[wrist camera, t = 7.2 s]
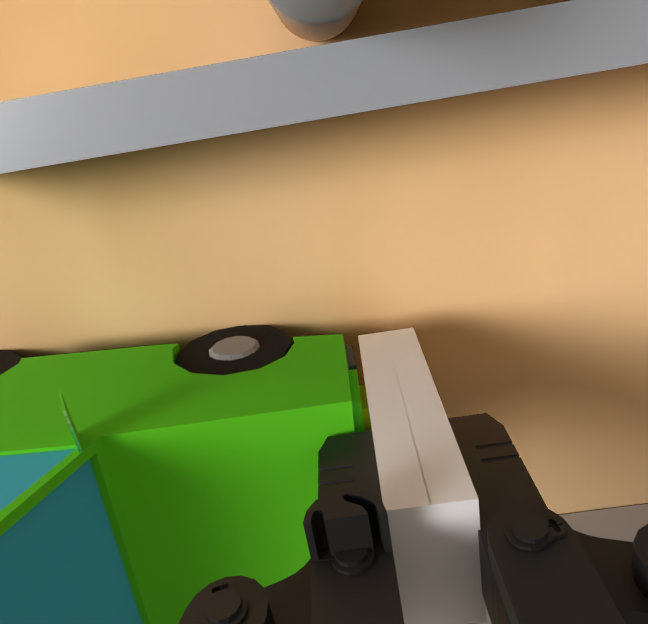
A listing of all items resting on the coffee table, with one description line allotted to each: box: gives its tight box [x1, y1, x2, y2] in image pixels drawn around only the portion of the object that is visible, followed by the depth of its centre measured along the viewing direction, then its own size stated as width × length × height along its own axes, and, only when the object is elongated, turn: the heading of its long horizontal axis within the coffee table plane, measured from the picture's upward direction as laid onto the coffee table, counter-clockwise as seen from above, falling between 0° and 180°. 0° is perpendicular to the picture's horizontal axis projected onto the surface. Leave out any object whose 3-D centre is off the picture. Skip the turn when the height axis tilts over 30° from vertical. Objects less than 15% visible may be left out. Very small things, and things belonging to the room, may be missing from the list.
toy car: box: [0, 325, 371, 624], centre depth 13 cm, size 10×13×10 cm
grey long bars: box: [0, 0, 648, 624], centre depth 14 cm, size 24×16×4 cm
